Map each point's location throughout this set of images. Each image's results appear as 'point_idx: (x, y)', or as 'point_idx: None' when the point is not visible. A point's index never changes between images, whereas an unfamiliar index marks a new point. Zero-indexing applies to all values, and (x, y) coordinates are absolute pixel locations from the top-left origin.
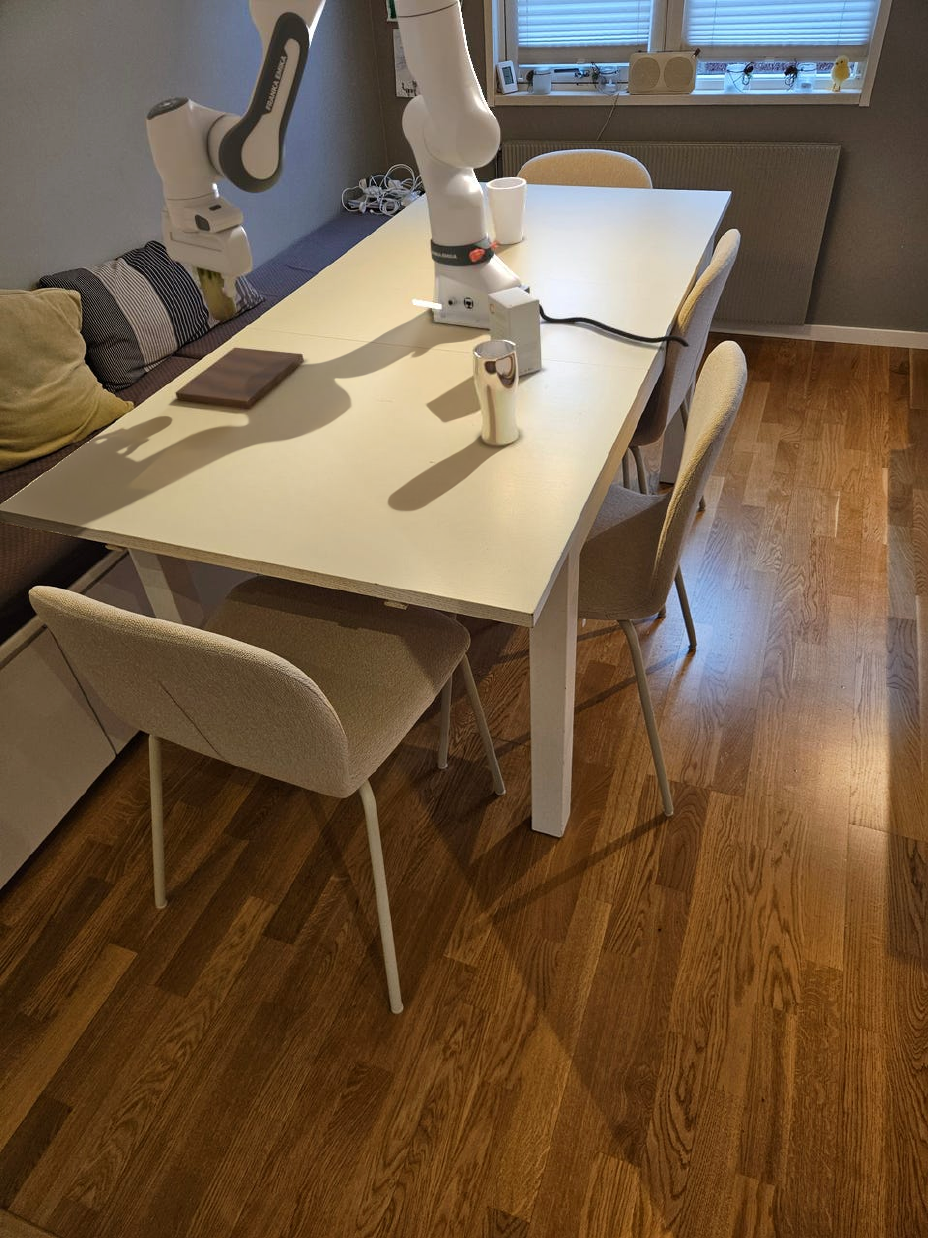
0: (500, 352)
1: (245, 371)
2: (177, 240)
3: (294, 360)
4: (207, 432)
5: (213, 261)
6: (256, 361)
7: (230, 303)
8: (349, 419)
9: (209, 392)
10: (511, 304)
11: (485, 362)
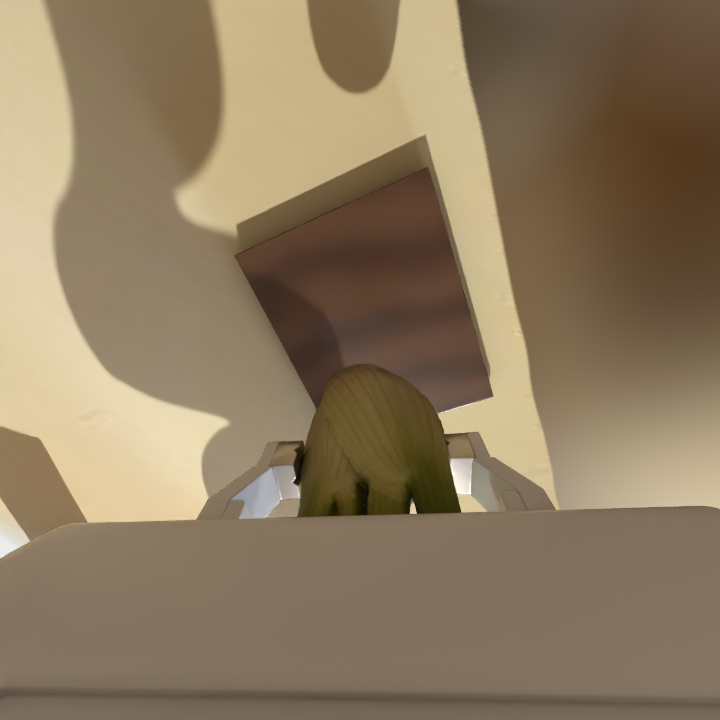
0: None
1: (368, 341)
2: (699, 710)
3: None
4: (205, 113)
5: (195, 577)
6: None
7: (309, 431)
8: (63, 343)
9: (347, 227)
10: None
11: None
